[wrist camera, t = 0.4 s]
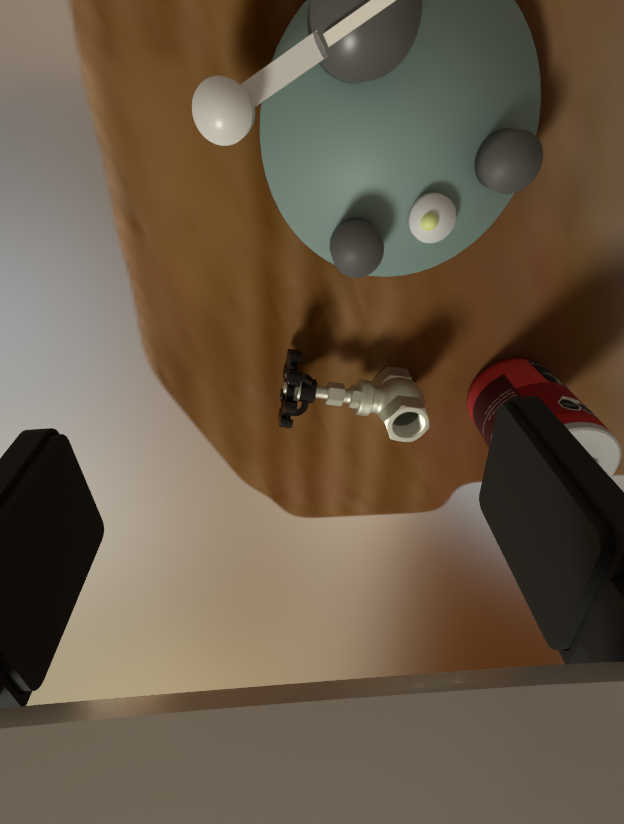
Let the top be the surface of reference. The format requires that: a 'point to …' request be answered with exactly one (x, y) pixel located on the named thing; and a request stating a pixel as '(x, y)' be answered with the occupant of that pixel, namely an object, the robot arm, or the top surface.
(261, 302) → the top surface
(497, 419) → the robot arm
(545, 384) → the canned food
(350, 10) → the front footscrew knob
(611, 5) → the top surface
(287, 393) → the valve
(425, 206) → the instrument base
